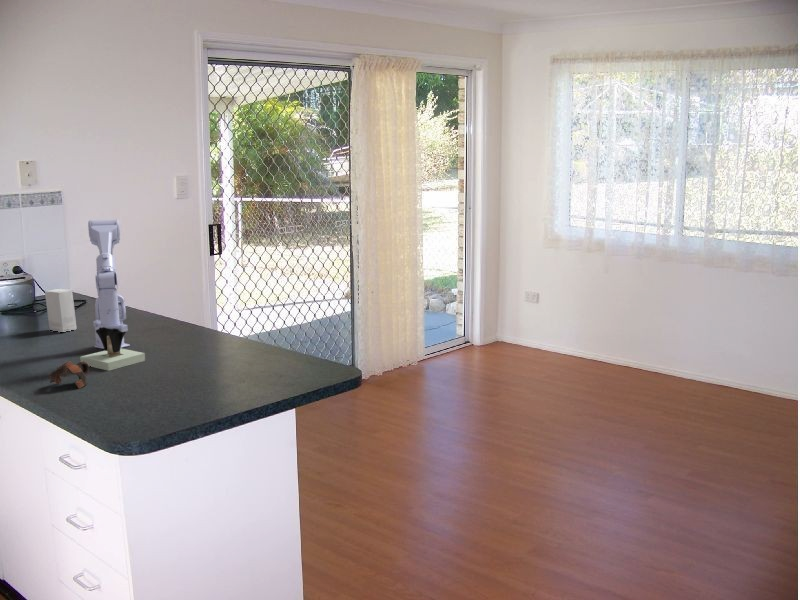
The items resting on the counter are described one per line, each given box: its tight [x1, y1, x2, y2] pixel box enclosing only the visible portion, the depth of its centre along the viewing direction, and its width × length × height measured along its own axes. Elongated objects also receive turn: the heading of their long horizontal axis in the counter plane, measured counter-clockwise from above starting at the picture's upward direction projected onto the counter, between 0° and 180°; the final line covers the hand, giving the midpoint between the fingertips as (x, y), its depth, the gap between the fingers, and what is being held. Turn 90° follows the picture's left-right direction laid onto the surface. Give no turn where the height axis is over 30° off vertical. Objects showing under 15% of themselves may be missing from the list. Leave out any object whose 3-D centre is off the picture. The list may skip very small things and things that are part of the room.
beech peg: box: [107, 336, 120, 358], centre depth 266 cm, size 4×4×8 cm
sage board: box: [79, 348, 146, 371], centre depth 267 cm, size 14×14×2 cm
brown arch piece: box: [48, 360, 90, 390], centre depth 243 cm, size 12×10×8 cm
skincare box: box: [44, 288, 78, 333], centre depth 311 cm, size 8×7×16 cm
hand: (112, 351), depth 266 cm, fingers closed on beech peg, 4 cm apart
